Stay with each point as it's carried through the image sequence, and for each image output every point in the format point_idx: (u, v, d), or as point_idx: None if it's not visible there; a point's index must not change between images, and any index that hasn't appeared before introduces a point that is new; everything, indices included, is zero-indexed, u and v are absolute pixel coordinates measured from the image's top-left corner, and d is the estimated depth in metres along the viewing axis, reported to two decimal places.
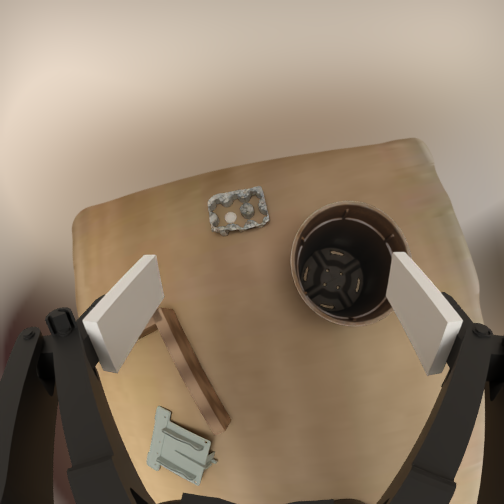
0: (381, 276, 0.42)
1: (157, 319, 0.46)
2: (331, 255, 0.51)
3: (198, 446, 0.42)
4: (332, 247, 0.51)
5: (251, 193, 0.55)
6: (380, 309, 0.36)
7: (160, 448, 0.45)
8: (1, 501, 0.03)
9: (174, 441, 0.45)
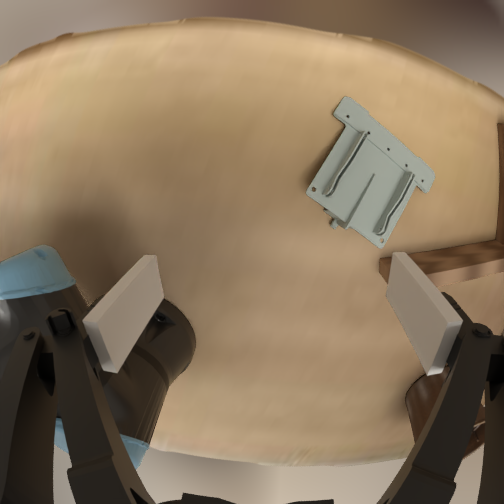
0: None
1: None
2: None
3: None
4: None
5: None
6: None
7: (377, 143, 0.29)
8: (1, 501, 0.03)
9: (388, 179, 0.30)
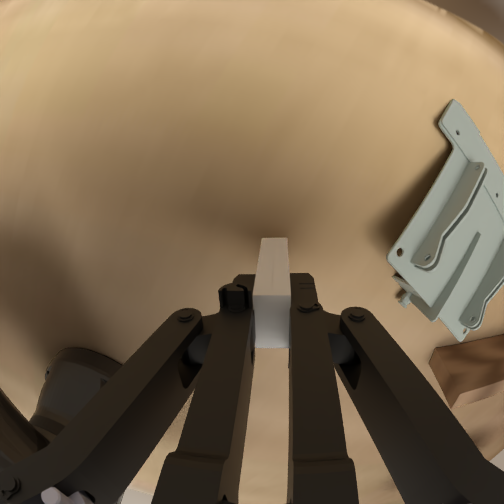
0: None
1: None
2: None
3: None
4: None
5: None
6: None
7: (486, 184, 0.15)
8: (57, 483, 0.04)
9: (490, 242, 0.16)
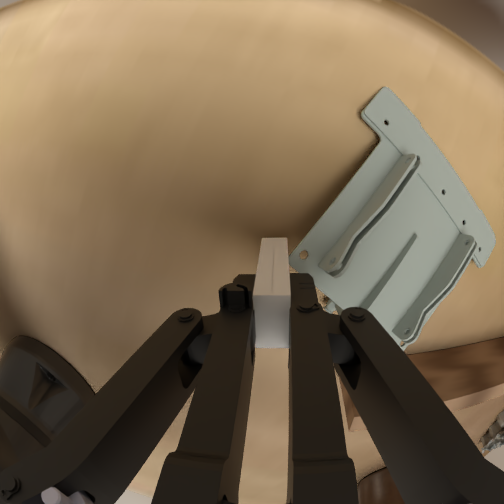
0: None
1: None
2: None
3: None
4: None
5: None
6: None
7: (427, 179, 0.16)
8: (57, 483, 0.04)
9: (434, 245, 0.17)
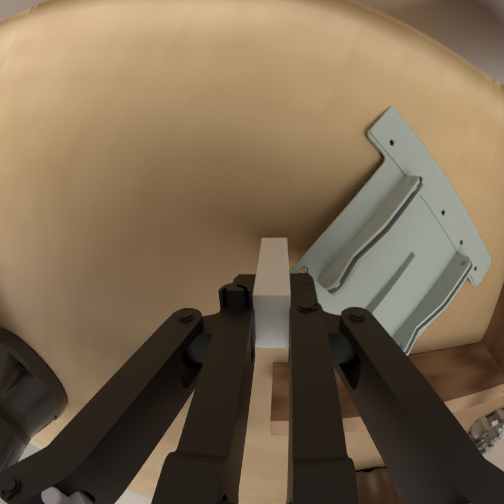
0: None
1: None
2: None
3: None
4: None
5: None
6: None
7: (428, 200, 0.16)
8: (57, 483, 0.04)
9: (430, 264, 0.17)
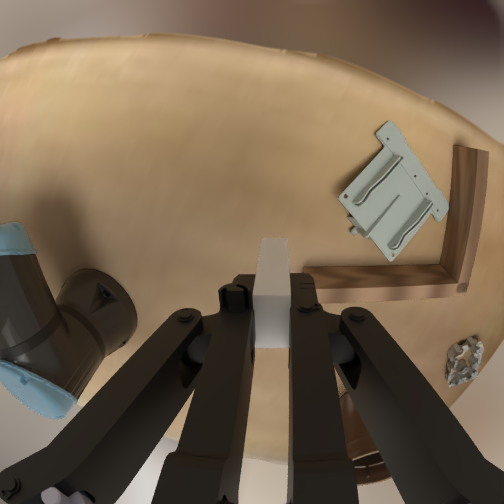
0: None
1: (459, 287, 0.32)
2: None
3: None
4: None
5: None
6: None
7: (406, 168, 0.32)
8: (57, 483, 0.04)
9: (409, 202, 0.33)
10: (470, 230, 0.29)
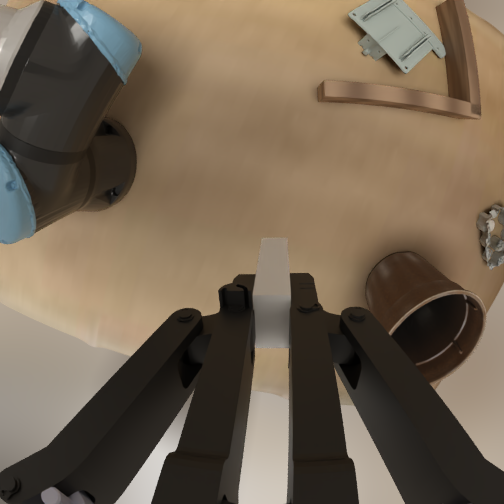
0: None
1: (473, 107, 0.27)
2: None
3: (407, 57, 0.28)
4: None
5: None
6: None
7: (402, 12, 0.27)
8: (57, 483, 0.04)
9: (410, 34, 0.28)
10: (466, 54, 0.24)
